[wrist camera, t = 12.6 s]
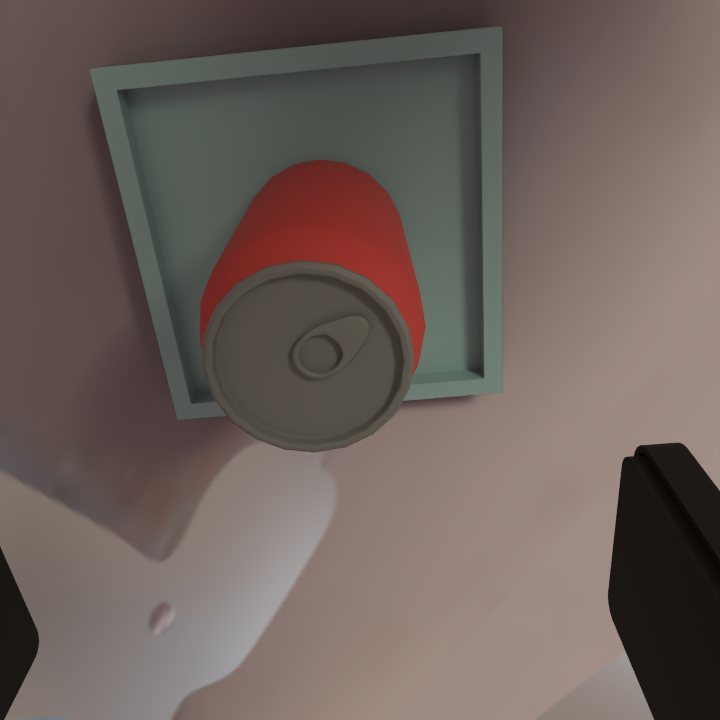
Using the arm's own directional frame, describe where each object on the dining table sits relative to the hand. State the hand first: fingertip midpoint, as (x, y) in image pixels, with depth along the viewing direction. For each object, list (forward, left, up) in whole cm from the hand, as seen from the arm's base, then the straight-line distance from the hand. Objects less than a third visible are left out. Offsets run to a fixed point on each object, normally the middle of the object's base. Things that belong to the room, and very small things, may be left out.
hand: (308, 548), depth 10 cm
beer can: (+1, +1, -20) cm, 20 cm away
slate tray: (+1, +1, -21) cm, 21 cm away
